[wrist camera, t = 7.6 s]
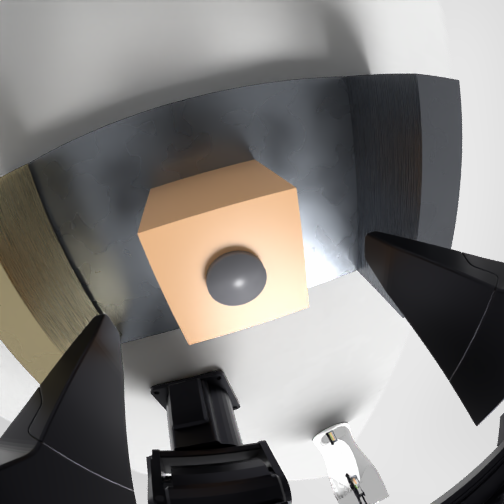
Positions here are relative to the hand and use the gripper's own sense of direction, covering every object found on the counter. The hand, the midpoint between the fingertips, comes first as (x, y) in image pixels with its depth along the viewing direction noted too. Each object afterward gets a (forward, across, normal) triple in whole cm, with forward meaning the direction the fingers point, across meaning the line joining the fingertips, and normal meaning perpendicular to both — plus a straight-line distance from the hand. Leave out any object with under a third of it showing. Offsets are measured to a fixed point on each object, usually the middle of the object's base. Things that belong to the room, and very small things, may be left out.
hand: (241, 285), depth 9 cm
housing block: (+6, 0, 0) cm, 6 cm away
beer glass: (+7, -8, +39) cm, 40 cm away
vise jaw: (+5, +10, 0) cm, 11 cm away
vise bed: (+7, 0, 0) cm, 7 cm away
